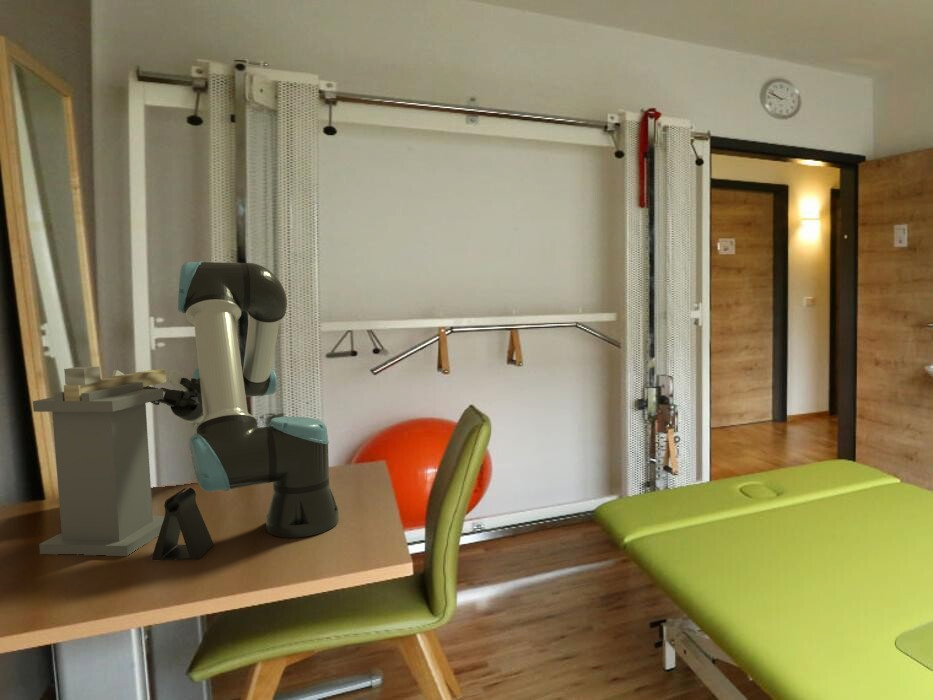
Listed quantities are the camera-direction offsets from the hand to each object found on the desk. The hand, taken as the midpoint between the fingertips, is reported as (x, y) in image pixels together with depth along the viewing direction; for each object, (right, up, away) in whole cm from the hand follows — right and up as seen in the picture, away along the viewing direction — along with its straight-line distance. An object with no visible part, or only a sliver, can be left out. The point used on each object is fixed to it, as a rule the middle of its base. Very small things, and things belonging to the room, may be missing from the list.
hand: (142, 374), depth 123 cm
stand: (0, -33, -10) cm, 35 cm away
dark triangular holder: (+18, -34, -17) cm, 42 cm away
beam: (0, -3, -7) cm, 8 cm away
